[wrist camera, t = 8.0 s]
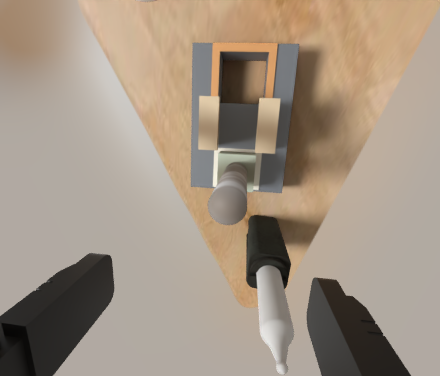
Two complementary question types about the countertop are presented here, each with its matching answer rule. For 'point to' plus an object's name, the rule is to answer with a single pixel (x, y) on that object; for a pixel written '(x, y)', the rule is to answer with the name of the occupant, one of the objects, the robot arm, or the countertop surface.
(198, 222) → the countertop surface
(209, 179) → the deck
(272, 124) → the wooden brackets
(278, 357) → the candle
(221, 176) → the post on square base
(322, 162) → the countertop surface
